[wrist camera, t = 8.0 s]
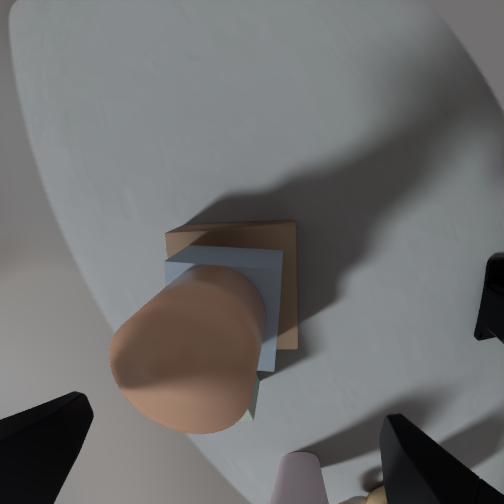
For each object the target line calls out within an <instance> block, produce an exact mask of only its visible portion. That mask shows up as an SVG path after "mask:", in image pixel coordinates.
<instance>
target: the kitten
mask: <svg viewBox="0 0 504 504" xmlns="http://www.w3.org/2000/svg"><path fill="white" fill-rule="evenodd" d="M339 504H387V499H386V494H385V489H384V485H383V486H381V487H379V488H377V489H375V490H374V491H372V492H371V493H370V494H368V496H367V497H365V496H354V497H352V498H349V499H348V500H346V501H343V502H341V503H339Z"/></svg>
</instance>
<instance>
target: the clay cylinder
mask: <svg viewBox="0 0 504 504" xmlns="http://www.w3.org/2000/svg"><path fill="white" fill-rule="evenodd" d="M266 322H267V314H266V308H265V304H264V301H263V299H262V296H261V295H260V293H259V291H258V290H257V288H256V287H255V286H254V285H253V284H252V283H251V282H250V281H249V280H248V279H247V278H246V277H245V276H243V275H242V274H240V273H238V272H237V271H235V270H232V269H230V268H227V267H224V266H219V265H201V266H197V267H193V268H191V269H188V270H187V271H185V272H183V273H182V274H181V275H179V276H178V277H177V278H176V279H175V280H173V281H172V282H171V283H170V284H169V285H168V286H166V287H165V288H164V289H163V290H162V291H161V292H159V293H158V294H157V295H156V296H155V297H154V298H153V299H151V300H150V301H149V302H148V303H147V304H146V305H144V306H143V307H142V308H141V309H140V310H139V311H138V312H136V313H135V314H134V315H133V316H132V317H131V318H130V319H129V320H127V321H126V322H125V323H124V324H123V325H122V326H121V327H120V328H119V329H118V330H117V332H116V333H115V335H114V337H113V339H112V342H111V346H110V356H109V357H110V358H109V359H110V366H111V370H112V374H113V376H114V379H115V381H116V383H117V385H118V387H119V389H120V390H121V392H122V393H123V395H124V396H125V397H126V398H127V400H128V401H129V402H130V403H131V404H132V405H133V406H134V407H135V408H136V409H137V410H139V411H140V412H141V413H142V414H144V415H145V416H146V417H148V418H149V419H151V420H153V421H154V422H156V423H158V424H160V425H162V426H164V427H167V428H170V429H172V430H176V431H180V432H185V433H192V434H207V433H214V432H218V431H221V430H224V429H226V428H229V427H230V426H232V425H234V424H235V423H236V422H238V421H239V420H240V419H241V418H242V417H243V415H244V414H245V413H246V411H247V409H248V407H249V405H250V402H251V397H252V393H253V388H254V383H255V378H256V373H257V368H258V363H259V358H260V353H261V348H262V343H263V338H264V333H265V328H266Z"/></svg>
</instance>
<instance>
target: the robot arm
mask: <svg viewBox="0 0 504 504" xmlns="http://www.w3.org/2000/svg"><path fill="white" fill-rule="evenodd" d="M492 265H493V267H492ZM480 333H481V334H480ZM479 334H480V335H479ZM474 337H475V338H476V339H477V340H479V341H480V340H485V339H489V338H494V337H497V338H498V339H499V340H500V341H501V342H502V343H503V344H504V258H493V259H490V260H489V261H488V262H487V265H486V273H485V280H484V287H483V293H482V299H481V304H480V309H479V314H478V319H477V323H476V328H475V332H474ZM93 417H94V415H93V410H92V408H91V406H90V403H89V401H88V398H87V396H86V395H85V394H83V393H80V392H75V391H74V392H71V393H69V394H66V395H64V396H61V397H59V398H56V399H54V400H51V401H49V402H46V403H43V404H41V405H38V406H36V407H33V408H31V409H28V410H25V411H23V412H20V413H17V414H15V415H12V416H9V417H7V418H3V419H1V420H0V504H54V502H55V500H56V498H57V496H58V494H59V492H60V490H61V488H62V486H63V483H64V482H65V480H66V478H67V476H68V474H69V472H70V470H71V468H72V466H73V464H74V462H75V461H76V459H77V457H78V454H79V452H80V450H81V448H82V445H83V443H84V440H85V437H86V435H87V433H88V430H89V428H90V425H91V423H92V420H93ZM380 450H381V460H382V471H383V482H384V489H385V494H386V499H387V504H504V495H503V494H502V493H500V492H499V491H497V490H496V489H495V488H493V487H492V486H490V485H489V484H488V483H487V482H485V481H484V480H483V479H480V478H479V476H477V475H476V474H475V473H474V472H472V471H471V470H470V469H469V468H467V467H466V466H465V465H464V464H462V463H461V462H460V461H459V460H457V459H456V458H455V457H454V456H452V455H451V454H450V453H449V452H447V451H446V450H445V449H444V448H442V447H441V446H440V445H439V444H437V443H436V442H435V441H434V440H433V439H431V438H430V437H429V436H428V435H426V434H425V433H424V432H423V431H422V430H420V429H419V428H418V427H417V426H416V425H414V424H413V423H412V422H411V421H409V420H408V419H407V418H406V417H405V416H403V415H402V414H400V413H396V414H388V415H387V416H386V417H385V419H384V422H383V426H382V429H381V433H380Z"/></svg>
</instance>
